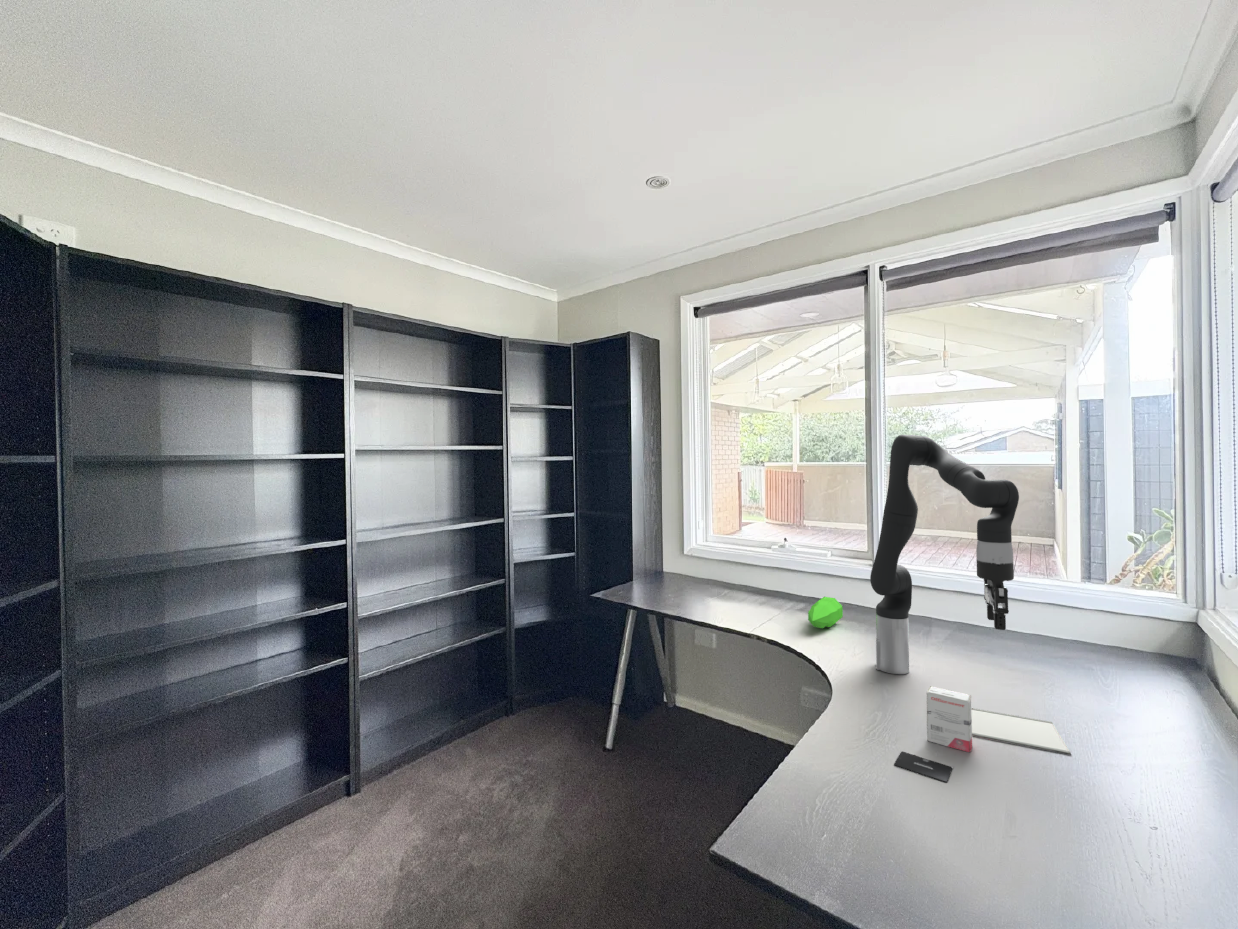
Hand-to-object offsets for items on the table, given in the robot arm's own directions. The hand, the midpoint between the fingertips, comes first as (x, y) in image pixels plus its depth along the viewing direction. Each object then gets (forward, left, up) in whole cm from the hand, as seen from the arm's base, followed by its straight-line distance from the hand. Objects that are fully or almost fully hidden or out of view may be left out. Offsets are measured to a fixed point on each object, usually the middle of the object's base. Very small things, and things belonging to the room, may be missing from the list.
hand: (996, 624), depth 130 cm
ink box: (-11, -14, -26) cm, 32 cm away
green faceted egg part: (-49, +67, -26) cm, 86 cm away
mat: (0, 0, -25) cm, 25 cm away
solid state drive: (-17, -28, -26) cm, 42 cm away
